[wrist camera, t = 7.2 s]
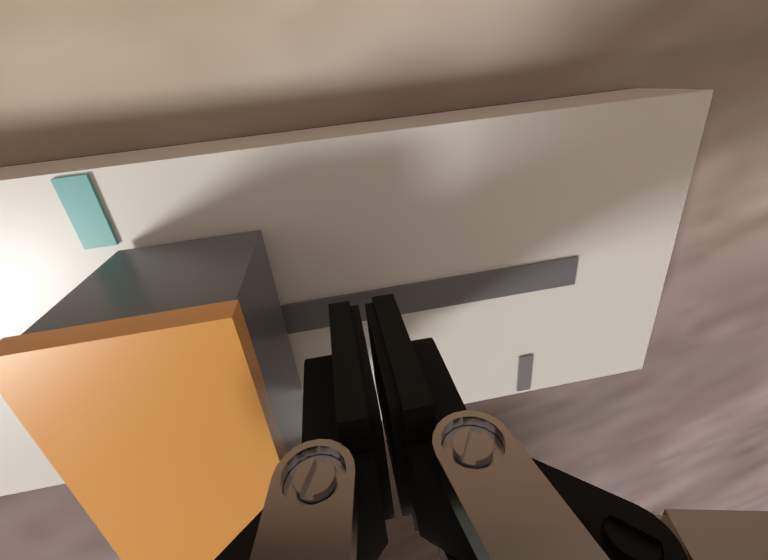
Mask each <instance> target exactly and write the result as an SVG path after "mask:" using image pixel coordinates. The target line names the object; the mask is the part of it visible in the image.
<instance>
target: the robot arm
mask: <svg viewBox="0 0 768 560" xmlns="http://www.w3.org/2000/svg"><path fill="white" fill-rule="evenodd" d="M328 307H329V322H330V336H331V351H332V355H327V356H321V357H315V358H310V359H305V361H304V381H303V413H302V444H300V445H298V446H296V447H294V448H293V449H292V450H290V451H289V452H288V453H286V454H285V455H284V456H283V458H282V459H281V460H280V461H279V463H278V464H277V466H276V468H275V470H274V472H273V475H272V478H271V481H270V485H269V489H268V492H267V496H266V500H265V504H264V507H263V509H262V510H261V511H260V512H259V513H258V515H257V516H256V517H255V518H254V519H253V520H252V521H251V522H250V523H249V524H248V525H247V526H246V527H245V528H244V529H243V530H242V531H241V532H240V533H239V534H238V535H237V536H236V537H235V538H234V539H233V540H232V541H231V543H230V544H229V545H228V546H227V547H226V548H225V549H224V550H223V551H222V552H221V553H220V554H219V555H218V556H217V557H216V558H215V559H214V560H377V559H378V557H379V556H380V554H381V553H382V551H383V550H384V548H385V547H386V545H387V544H388V538H387V532H386V525H385V520H387V519H392V518H394V510H393V502H392V495H391V487H390V480H389V472H388V465H387V457H386V450H385V442H384V435H383V428H382V421H381V415H382V420H383V425H384V430H385V434H386V439H387V444H388V449H389V454H390V459H391V464H392V468H393V473H394V478H395V483H396V488H397V493H398V498H399V502H400V507H401V512H402V516H406V515H410V514H412V518H413V522H414V526H415V531H417V530H419V532H420V536H422V537H423V538H425V539H427V540H428V541H430V542H431V543H433V544H434V545H436V546H437V547H438V550H439V553H440V557H441V560H768V511H734V510H688V509H665V510H664V513H663V515H654V514H652V513H650V512H649V511H647V510H645V509H643V508H642V507H640V506H638V505H636V504H634V503H632V502H629V501H627V500H625V499H623V498H620V497H618V496H616V495H614V494H611V493H609V492H607V491H605V490H603V489H600V488H598V487H596V486H594V485H591V484H589V483H587V482H585V481H582V480H580V479H578V478H576V477H573V476H571V475H569V474H567V473H564V472H562V471H560V470H558V469H555V468H553V467H551V466H549V465H546V464H544V463H542V462H540V461H538V460H535V459H533V458H531V457H530V456H529V455H528V453H527V452H526V451H525V450H524V448H523V447H522V446H521V444H520V443H519V442H518V440H517V439H516V438H515V437H514V435H513V434H512V433H511V431H510V430H509V429H508V428H507V427H506V426H505V425H504V424H503V423H502V422H501V421H500V420H498V419H497V418H495V417H493V416H491V415H489V414H486V413H483V412H479V411H470V410H466V408H465V405H464V403H463V401H462V399H461V397H460V395H459V393H458V390H457V388H456V386H455V384H454V382H453V380H452V378H451V376H450V373H449V371H448V369H447V367H446V365H445V363H444V361H443V358H442V356H441V354H440V352H439V350H438V348H437V346H436V344H435V342H434V340H433V338H431V337H430V338H424V339H418V340H413V341H411V340H410V337H409V334H408V332H407V329H406V327H405V324H404V321H403V319H402V316H401V313H400V311H399V308H398V305H397V303H396V300H395V297H394V295H393V294H387V295H381V296H374V297H372V303H366V304H365V310H366V317H367V325H368V332H369V339H370V347H371V354H372V361H373V369H374V376H375V383H376V389H375V384H374V379H373V374H372V369H371V364H370V359H369V354H368V349H367V345H366V340H365V335H364V330H363V325H362V320H361V315H360V310H359V305H353V306H350V302H349V301H344V302H337V303H331V304H328ZM376 390H377V394H376ZM377 395H378V399H377ZM378 400H379V404H378ZM379 405H380V409H379ZM380 410H381V415H380Z"/></svg>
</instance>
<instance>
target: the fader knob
mask: <svg viewBox="0 0 768 560" xmlns="http://www.w3.org/2000/svg"><path fill="white" fill-rule="evenodd" d="M0 395H1V396H2V397H3V399H4V400H5V402H6V403H7V404H8V406H9V407H10V408H11V410H12V411H13V412H14V414H15V415H16V417H17V418H18V419H19V421H20V422H21V423H22V425H23V426H24V427H25V429H26V430H27V432H28V433H29V434H30V436H31V437H32V438H33V440H34V441H35V442H36V444H37V445H38V447H39V448H40V449H41V451H42V452H43V453H44V455H45V456H46V457H47V459H48V460H49V462H50V463H51V464H52V466H53V467H54V468H55V470H56V471H57V473H58V474H59V475H60V477H61V478H62V479H63V481H64V482H65V483H66V485H67V486H68V488H69V489H70V490H71V492H72V493H73V494H74V496H75V497H76V498H77V500H78V501H79V503H80V504H81V505H82V507H83V508H84V509H85V511H86V512H87V513H88V515H89V516H90V518H91V519H92V520H93V522H94V523H95V524H96V526H97V527H98V529H99V530H100V531H101V533H102V534H103V535H104V537H105V538H106V539H107V541H108V542H109V544H110V545H111V546H112V548H113V549H114V550H115V552H116V553H117V554H118V556H119V557H120V559H121V560H214V559H215V558H216V557H217V556H218V555H219V554H220V553H221V552H222V551H223V550H224V549H225V548H226V547H227V546H228V545H229V544H230V543H231V541H232V540H233V539H234V538H235V537H236V536H237V535H238V534H239V533H240V532H241V531H242V530H243V529H244V528H245V527H246V526H247V525H248V524H249V523H250V522H251V521H252V520H253V519H254V518H255V517H256V516H257V515H258V513H259V512H260V511H261V510H262V509H263V507H264V504H265V500H266V496H267V492H268V489H269V485H270V481H271V478H272V475H273V472H274V470H275V468H276V466H277V464H278V463H279V461H280V460H281V459H282V458H283V456H284V455H285V454H286V453H288V452H289V451H290V450H292V449H293V448H294V447H296V446H298V445H300V444H302V413H303V391H302V387H301V383H300V379H299V375H298V371H297V367H296V364H295V360H294V356H293V352H292V348H291V344H290V340H289V337H288V333H287V329H286V325H285V321H284V317H283V313H282V310H281V306H280V302H279V298H278V294H277V290H276V286H275V283H274V279H273V275H272V271H271V267H270V263H269V259H268V256H267V252H266V248H265V244H264V240H263V236H262V232H261V230H255V231H248V232H242V233H235V234H228V235H221V236H214V237H208V238H201V239H194V240H187V241H180V242H174V243H167V244H160V245H153V246H147V247H140V248H133V249H126V250H119V251H117V252H116V253H115V254H114V255H113V256H111V257H110V258H109V259H108V260H107V261H106V262H104V263H103V264H102V265H101V266H100V267H99V268H97V269H96V270H95V271H94V272H93V273H92V274H91V275H89V276H88V277H87V278H86V279H85V280H84V281H82V282H81V283H80V284H79V285H78V286H77V287H75V288H74V289H73V290H72V291H71V292H70V293H69V294H67V295H66V296H65V297H64V298H63V299H62V300H60V301H59V302H58V303H57V304H56V305H55V306H53V307H52V308H51V309H50V310H49V311H48V312H47V313H45V314H44V315H43V316H42V317H41V318H40V319H38V320H37V321H36V322H35V323H34V324H33V325H31V326H30V327H29V328H28V329H27V330H26V331H25V332H23V333H22V334H21V335H17V336H11V337H5V338H2V339H1V340H0Z"/></svg>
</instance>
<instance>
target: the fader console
mask: <svg viewBox="0 0 768 560" xmlns="http://www.w3.org/2000/svg"><path fill="white" fill-rule="evenodd" d="M713 92H714V89H659V88H633V89H625V90H617V91H609V92H601V93H593V94H585V95H577V96H569V97H561V98H553V99H545V100H537V101H529V102H521V103H513V104H505V105H497V106H489V107H480V108H472V109H464V110H456V111H448V112H440V113H432V114H424V115H416V116H408V117H400V118H392V119H384V120H376V121H368V122H360V123H352V124H344V125H336V126H328V127H320V128H312V129H304V130H296V131H288V132H280V133H272V134H264V135H256V136H248V137H240V138H232V139H224V140H216V141H208V142H200V143H191V144H183V145H175V146H167V147H159V148H151V149H143V150H135V151H127V152H119V153H111V154H103V155H95V156H87V157H79V158H71V159H63V160H55V161H47V162H39V163H31V164H23V165H15V166H7V167H0V340H1V339H2V338H5V337H11V336H17V335H21V334H22V333H23V332H25V331H26V330H27V329H28V328H29V327H30V326H31V325H33V324H34V323H35V322H36V321H37V320H38V319H40V318H41V317H42V316H43V315H44V314H45V313H47V312H48V311H49V310H50V309H51V308H52V307H53V306H55V305H56V304H57V303H58V302H59V301H60V300H62V299H63V298H64V297H65V296H66V295H67V294H69V293H70V292H71V291H72V290H73V289H74V288H75V287H77V286H78V285H79V284H80V283H81V282H82V281H84V280H85V279H86V278H87V277H88V276H89V275H91V274H92V273H93V272H94V271H95V270H96V269H97V268H99V267H100V266H101V265H102V264H103V263H104V262H106V261H107V260H108V259H109V258H110V257H111V256H113V255H114V254H115V253H116V252H117V251H119V250H126V249H133V248H140V247H147V246H153V245H160V244H167V243H174V242H180V241H187V240H194V239H201V238H208V237H214V236H221V235H228V234H235V233H242V232H248V231H255V230H261V232H262V236H263V240H264V244H265V248H266V252H267V256H268V259H269V263H270V267H271V271H272V275H273V279H274V283H275V286H276V290H277V294H278V298H279V302H280V306H281V310H282V313H283V317H284V321H285V325H286V329H287V333H288V337H289V340H290V344H291V348H292V352H293V356H294V360H295V364H296V367H297V371H298V375H299V379H300V383H301V387H302V391H303V381H304V361H305V359H310V358H315V357H321V356H327V355H332V351H331V336H330V322H329V307H328V304H331V303H337V302H344V301H349V302H350V306H353V305H359V310H360V315H361V320H362V325H363V330H364V335H365V340H366V345H367V349H368V354H369V359H370V364H371V369H372V374H373V379H374V384H375V389H376V383H375V376H374V369H373V361H372V354H371V347H370V339H369V332H368V325H367V317H366V310H365V304H366V303H372V297H374V296H381V295H387V294H393V295H394V297H395V300H396V303H397V305H398V308H399V311H400V313H401V316H402V319H403V321H404V324H405V327H406V329H407V332H408V334H409V337H410V340H411V341H413V340H418V339H424V338H430V337H431V338H433V340H434V342H435V344H436V346H437V348H438V350H439V352H440V354H441V356H442V358H443V361H444V363H445V365H446V367H447V369H448V371H449V373H450V376H451V378H452V380H453V382H454V384H455V386H456V388H457V390H458V393H459V395H460V397H461V399H462V401H463V403H464V404H466V403H472V402H477V401H482V400H487V399H492V398H497V397H502V396H507V395H512V394H517V393H522V392H527V391H532V390H537V389H542V388H547V387H552V386H557V385H562V384H567V383H572V382H577V381H582V380H587V379H592V378H597V377H602V376H607V375H612V374H617V373H622V372H627V371H632V370H637V369H642V367H643V363H644V359H645V355H646V351H647V347H648V343H649V339H650V336H651V332H652V328H653V324H654V320H655V316H656V312H657V309H658V305H659V301H660V297H661V293H662V289H663V285H664V281H665V278H666V274H667V270H668V266H669V262H670V258H671V254H672V250H673V247H674V243H675V239H676V235H677V231H678V227H679V223H680V220H681V216H682V212H683V208H684V204H685V200H686V196H687V192H688V189H689V185H690V181H691V177H692V173H693V169H694V165H695V161H696V158H697V154H698V150H699V146H700V142H701V138H702V134H703V131H704V127H705V123H706V119H707V115H708V111H709V107H710V103H711V100H712V96H713ZM376 394H377V390H376ZM377 399H378V395H377ZM378 404H379V400H378ZM379 409H380V405H379ZM380 415H381V410H380ZM381 420H382V415H381ZM64 483H65V482H64V481H63V479H62V478H61V477H60V475H59V474H58V473H57V471H56V470H55V468H54V467H53V466H52V464H51V463H50V462H49V460H48V459H47V457H46V456H45V455H44V453H43V452H42V451H41V449H40V448H39V447H38V445H37V444H36V442H35V441H34V440H33V438H32V437H31V436H30V434H29V433H28V432H27V430H26V429H25V427H24V426H23V425H22V423H21V422H20V421H19V419H18V418H17V417H16V415H15V414H14V412H13V411H12V410H11V408H10V407H9V406H8V404H7V403H6V402H5V400H4V399H3V397H2V396H1V395H0V496H4V495H9V494H14V493H19V492H24V491H29V490H34V489H39V488H44V487H49V486H54V485H59V484H64Z"/></svg>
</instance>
